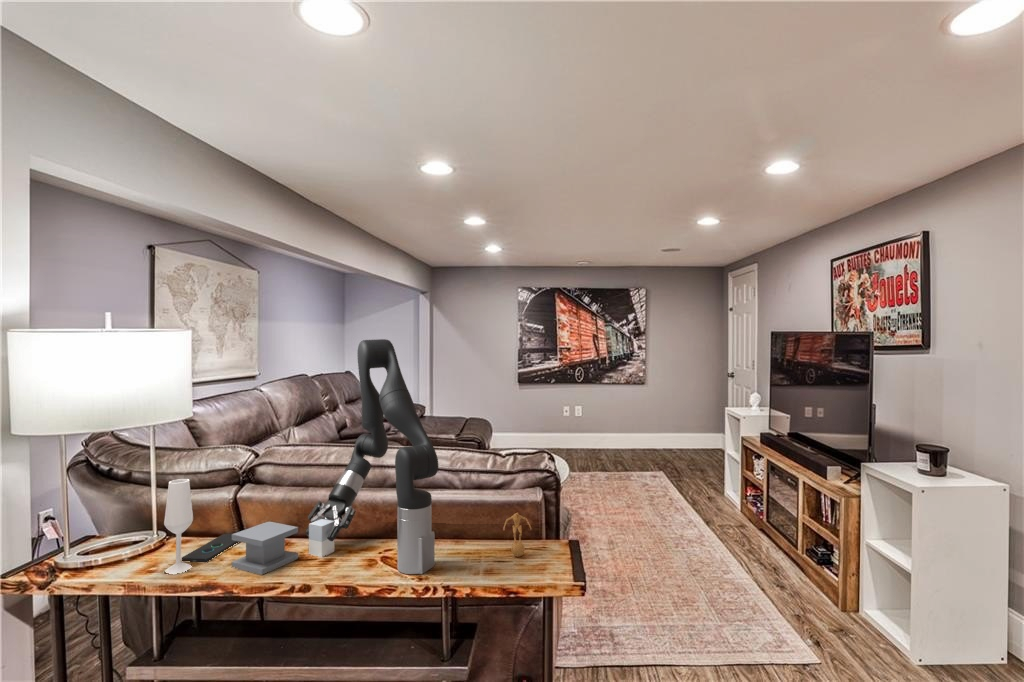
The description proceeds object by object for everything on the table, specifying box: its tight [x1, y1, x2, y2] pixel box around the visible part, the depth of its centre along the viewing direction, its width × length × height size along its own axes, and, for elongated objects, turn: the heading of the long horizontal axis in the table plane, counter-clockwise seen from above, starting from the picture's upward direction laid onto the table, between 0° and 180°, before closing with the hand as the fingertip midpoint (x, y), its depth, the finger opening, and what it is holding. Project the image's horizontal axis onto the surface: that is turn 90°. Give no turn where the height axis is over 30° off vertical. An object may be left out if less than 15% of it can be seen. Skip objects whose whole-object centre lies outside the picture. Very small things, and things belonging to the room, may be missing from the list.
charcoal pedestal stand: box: [231, 521, 299, 576], centre depth 146 cm, size 12×12×9 cm
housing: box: [308, 518, 335, 558], centre depth 153 cm, size 5×5×9 cm
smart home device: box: [181, 533, 239, 563], centre depth 156 cm, size 8×2×20 cm
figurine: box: [502, 512, 532, 558], centre depth 151 cm, size 8×6×12 cm
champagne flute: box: [163, 478, 194, 575], centre depth 142 cm, size 7×7×24 cm
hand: (318, 537), depth 152 cm, fingers open, 8 cm apart
